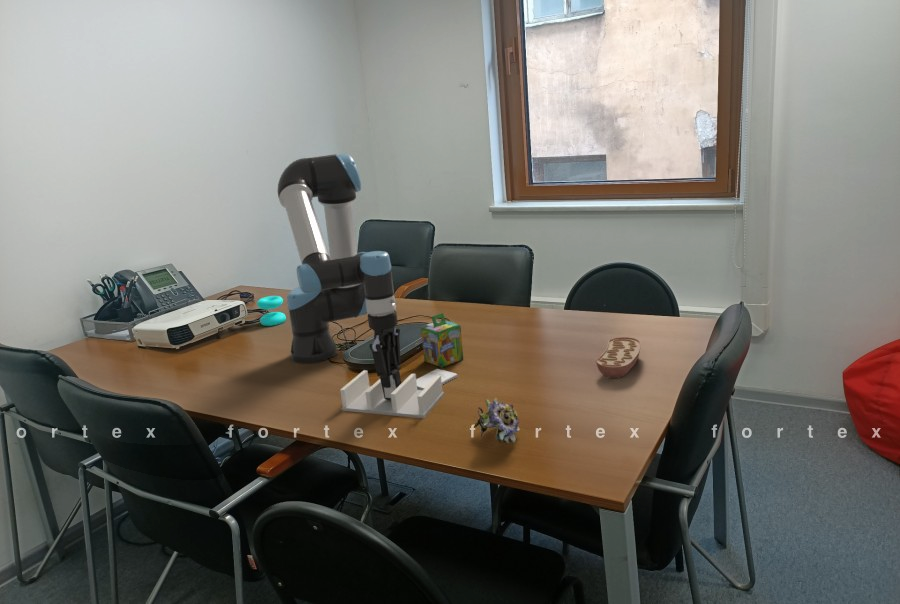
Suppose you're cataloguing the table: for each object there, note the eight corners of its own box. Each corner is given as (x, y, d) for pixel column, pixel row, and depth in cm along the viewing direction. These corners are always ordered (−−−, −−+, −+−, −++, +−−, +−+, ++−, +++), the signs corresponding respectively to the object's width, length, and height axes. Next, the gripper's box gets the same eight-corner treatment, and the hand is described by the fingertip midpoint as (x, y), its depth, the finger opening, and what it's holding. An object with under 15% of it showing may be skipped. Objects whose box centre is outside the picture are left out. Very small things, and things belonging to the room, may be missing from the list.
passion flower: (513, 462, 147) (511, 440, 137) (468, 450, 150) (463, 428, 140) (525, 419, 153) (524, 395, 143) (481, 408, 156) (478, 384, 146)
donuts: (262, 303, 241) (252, 299, 249) (267, 328, 244) (256, 323, 252) (286, 297, 247) (275, 293, 255) (290, 321, 250) (279, 317, 258)
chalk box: (441, 368, 190) (436, 322, 186) (423, 361, 197) (418, 316, 193) (464, 359, 195) (460, 313, 191) (446, 352, 202) (441, 308, 198)
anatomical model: (611, 351, 191) (611, 335, 190) (645, 354, 187) (645, 338, 185) (593, 382, 172) (592, 365, 170) (630, 386, 167) (630, 368, 166)
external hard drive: (407, 388, 180) (436, 373, 189) (428, 394, 174) (457, 378, 183) (406, 383, 179) (436, 368, 188) (428, 389, 174) (457, 373, 183)
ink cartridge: (384, 399, 170) (378, 372, 168) (388, 396, 172) (382, 369, 170) (400, 400, 168) (395, 372, 166) (404, 396, 170) (398, 368, 168)
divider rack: (366, 388, 181) (363, 369, 180) (444, 394, 172) (442, 375, 171) (341, 410, 169) (338, 390, 167) (424, 418, 160) (421, 397, 158)
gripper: (381, 321, 155) (392, 408, 162) (407, 303, 168) (416, 384, 175) (354, 320, 158) (367, 406, 165) (382, 302, 171) (392, 382, 178)
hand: (392, 395), depth 170 cm, fingers closed on ink cartridge, 2 cm apart
